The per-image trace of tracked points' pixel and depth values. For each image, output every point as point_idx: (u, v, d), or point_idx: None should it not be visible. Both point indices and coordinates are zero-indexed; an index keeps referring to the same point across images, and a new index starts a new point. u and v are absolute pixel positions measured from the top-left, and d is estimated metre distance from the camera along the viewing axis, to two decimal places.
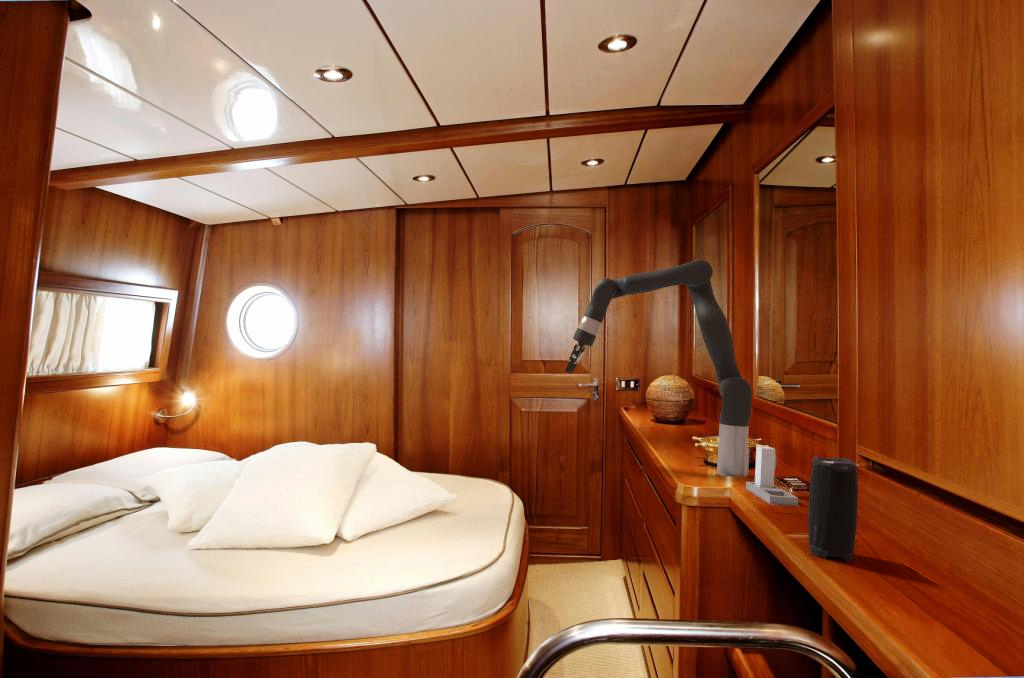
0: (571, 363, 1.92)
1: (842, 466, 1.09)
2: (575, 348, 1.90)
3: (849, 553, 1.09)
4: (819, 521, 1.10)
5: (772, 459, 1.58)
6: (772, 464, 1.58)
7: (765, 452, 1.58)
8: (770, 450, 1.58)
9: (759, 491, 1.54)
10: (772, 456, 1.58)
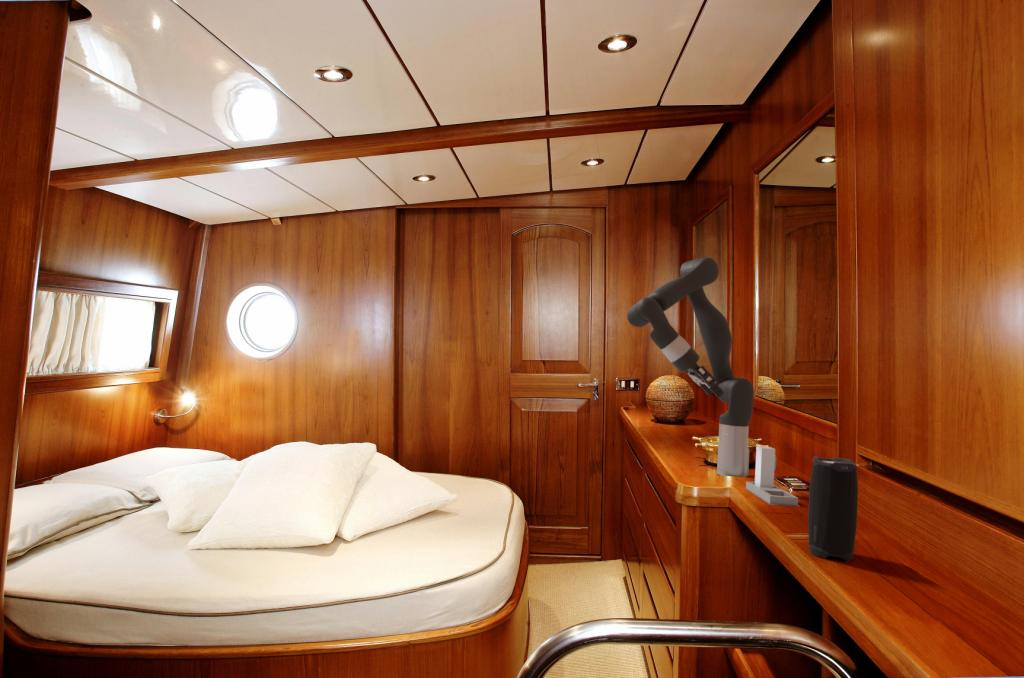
0: (714, 386, 1.59)
1: (842, 466, 1.09)
2: (701, 374, 1.57)
3: (849, 553, 1.09)
4: (819, 521, 1.10)
5: (772, 459, 1.58)
6: (772, 464, 1.58)
7: (765, 452, 1.58)
8: (770, 450, 1.58)
9: (759, 491, 1.54)
10: (772, 456, 1.58)
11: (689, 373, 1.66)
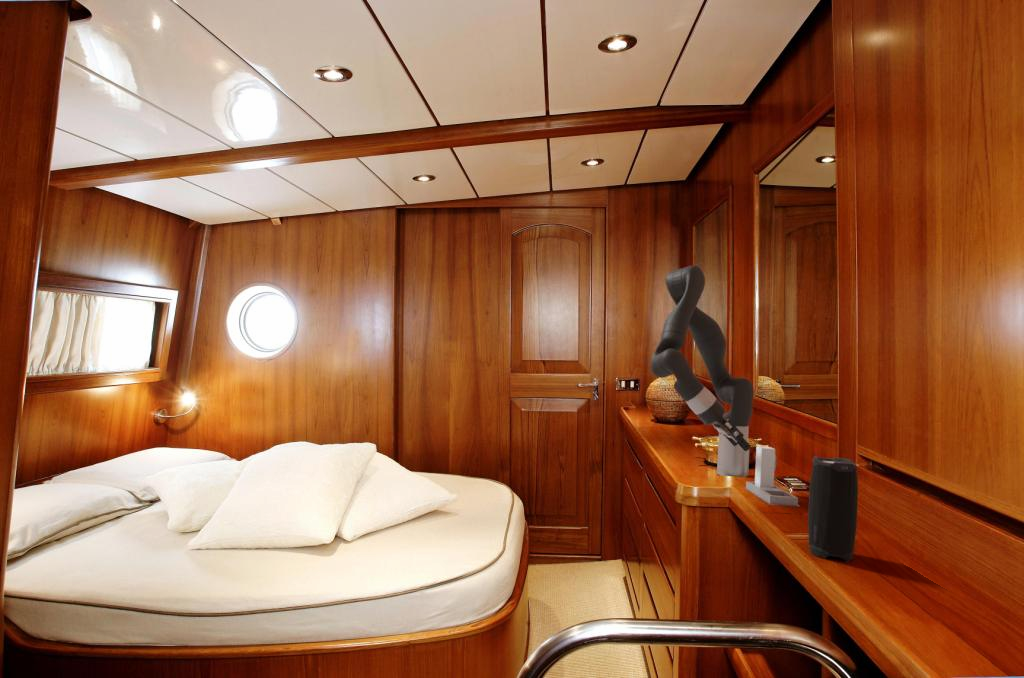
0: (741, 440, 1.55)
1: (842, 466, 1.09)
2: (728, 428, 1.54)
3: (849, 553, 1.09)
4: (819, 521, 1.10)
5: (772, 459, 1.58)
6: (772, 464, 1.58)
7: (765, 452, 1.58)
8: (770, 450, 1.58)
9: (759, 491, 1.54)
10: (772, 456, 1.58)
11: (714, 425, 1.62)
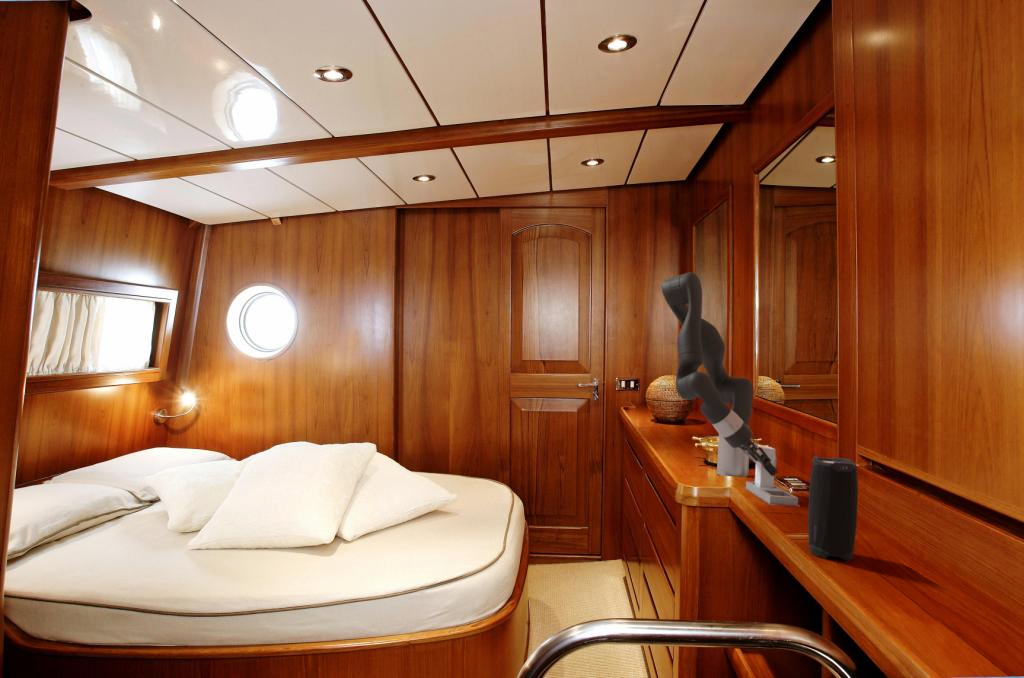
0: (768, 465, 1.56)
1: (842, 466, 1.09)
2: (759, 456, 1.54)
3: (849, 553, 1.09)
4: (819, 521, 1.10)
5: (772, 459, 1.58)
6: (772, 464, 1.58)
7: (765, 452, 1.58)
8: (770, 450, 1.58)
9: (759, 491, 1.54)
10: (772, 456, 1.58)
11: (741, 447, 1.61)
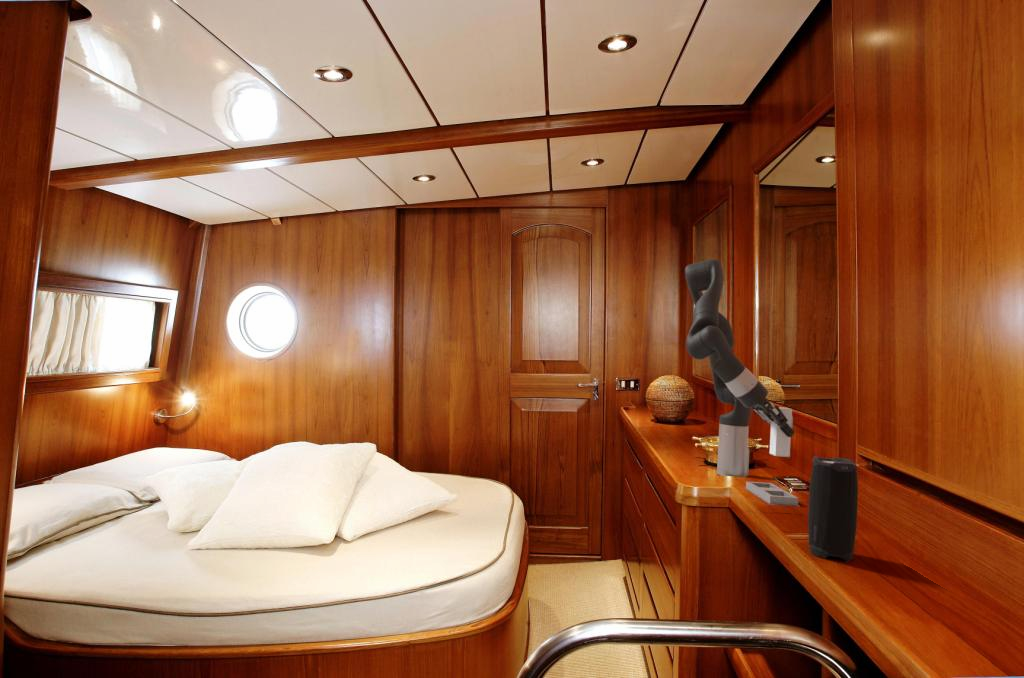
0: (784, 425, 1.48)
1: (842, 466, 1.09)
2: (775, 415, 1.45)
3: (849, 553, 1.09)
4: (819, 521, 1.10)
5: (788, 420, 1.49)
6: (789, 425, 1.49)
7: None
8: (786, 410, 1.49)
9: (759, 491, 1.54)
10: (789, 416, 1.49)
11: (755, 408, 1.53)
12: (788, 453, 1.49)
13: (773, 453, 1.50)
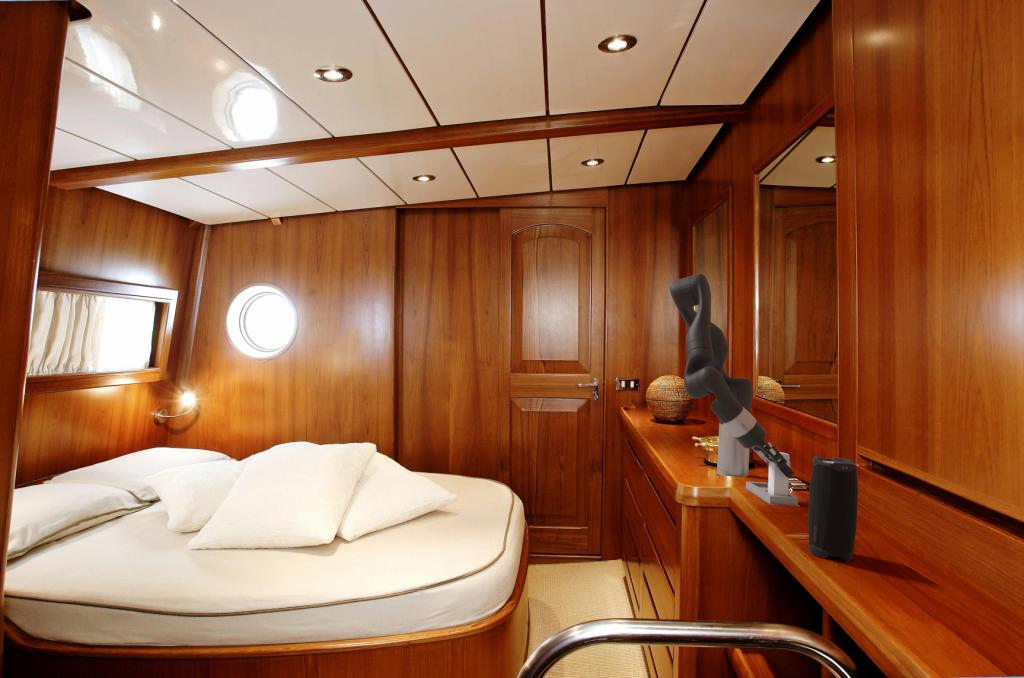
0: (784, 466, 1.47)
1: (842, 466, 1.09)
2: (772, 455, 1.44)
3: (849, 553, 1.09)
4: (819, 521, 1.10)
5: None
6: None
7: None
8: (784, 456, 1.49)
9: (759, 491, 1.54)
10: None
11: (753, 448, 1.52)
12: None
13: None
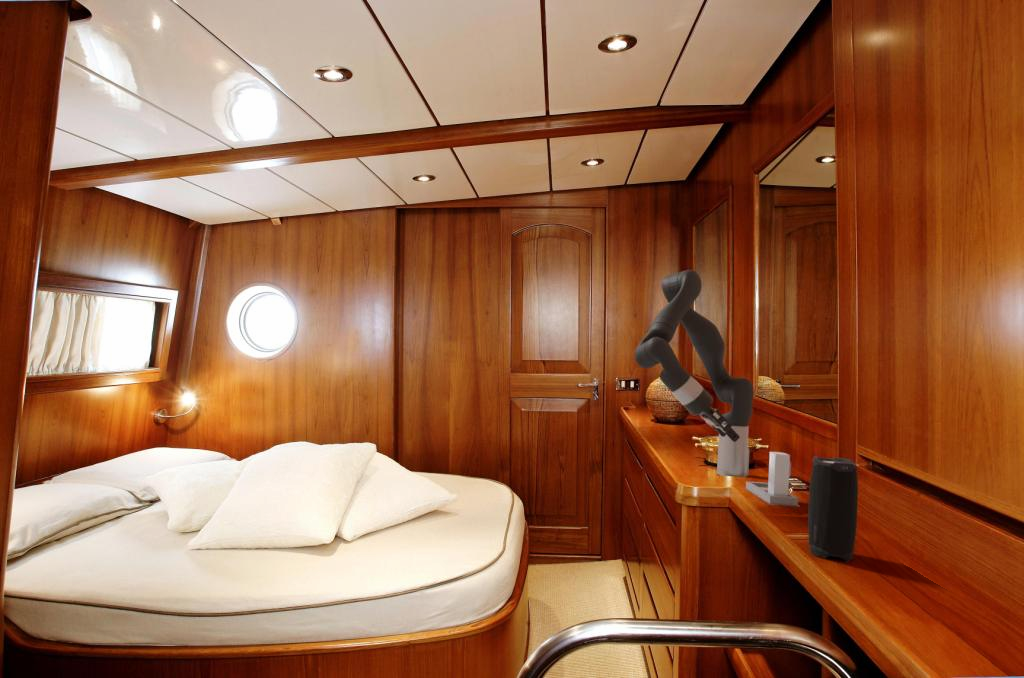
0: (729, 431, 1.50)
1: (842, 466, 1.09)
2: (716, 419, 1.48)
3: (849, 553, 1.09)
4: (819, 521, 1.10)
5: (786, 466, 1.49)
6: (786, 471, 1.49)
7: (779, 458, 1.49)
8: (784, 456, 1.49)
9: (759, 491, 1.54)
10: (786, 462, 1.49)
11: (702, 415, 1.57)
12: None
13: None
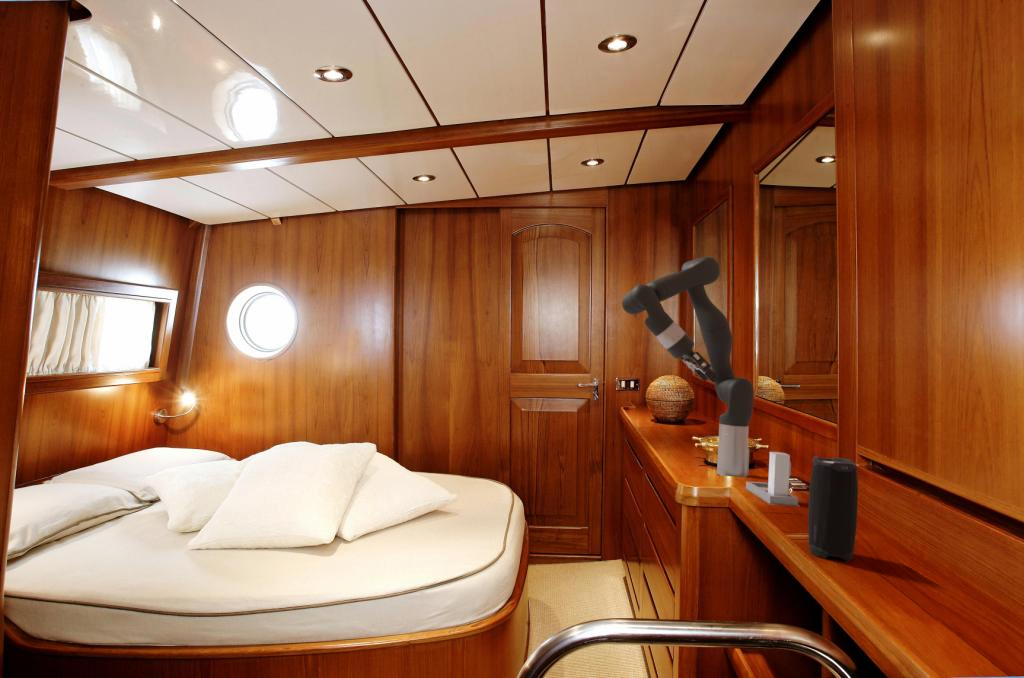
0: (709, 371, 1.60)
1: (842, 466, 1.09)
2: (696, 359, 1.58)
3: (849, 553, 1.09)
4: (819, 521, 1.10)
5: (786, 466, 1.49)
6: (786, 471, 1.49)
7: (779, 458, 1.49)
8: (784, 456, 1.49)
9: (759, 491, 1.54)
10: (786, 462, 1.49)
11: (684, 359, 1.67)
12: None
13: None
